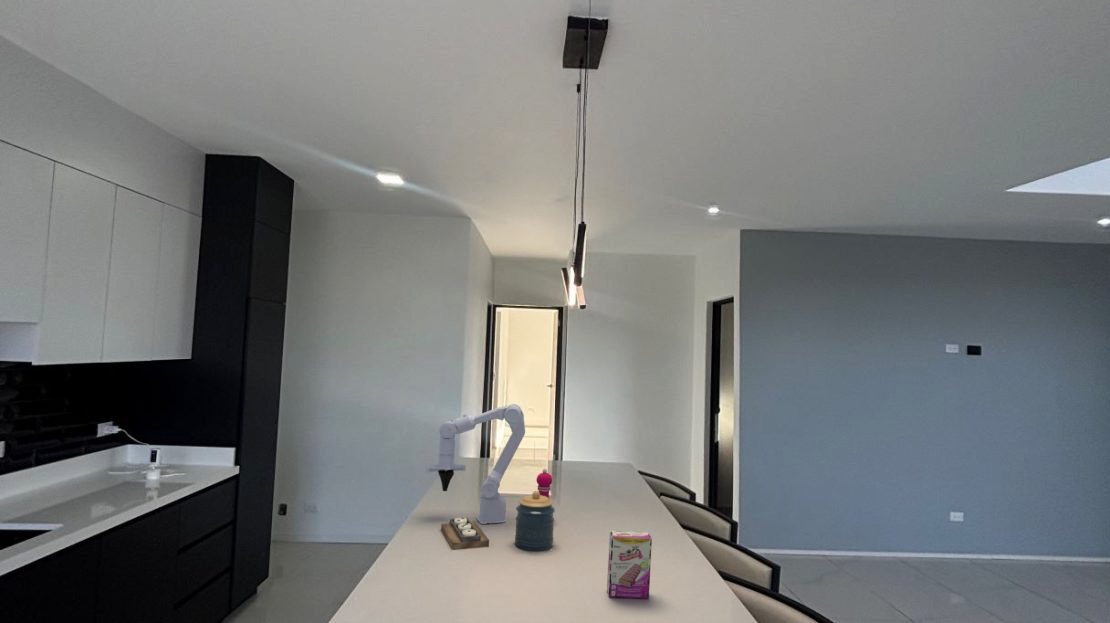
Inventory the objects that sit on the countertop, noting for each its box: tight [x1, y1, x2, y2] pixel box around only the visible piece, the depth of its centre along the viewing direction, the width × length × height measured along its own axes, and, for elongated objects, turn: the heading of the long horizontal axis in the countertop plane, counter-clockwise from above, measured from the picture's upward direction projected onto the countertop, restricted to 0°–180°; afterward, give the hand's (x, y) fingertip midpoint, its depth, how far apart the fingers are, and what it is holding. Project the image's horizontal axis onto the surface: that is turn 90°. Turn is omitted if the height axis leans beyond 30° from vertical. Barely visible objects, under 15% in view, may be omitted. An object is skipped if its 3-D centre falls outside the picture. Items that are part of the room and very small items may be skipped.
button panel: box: [440, 517, 490, 550], centre depth 195 cm, size 12×20×4 cm, turn 22°
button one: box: [462, 529, 476, 537], centre depth 189 cm, size 4×4×2 cm
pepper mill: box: [536, 468, 553, 507], centre depth 216 cm, size 7×7×20 cm
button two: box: [453, 517, 467, 524], centre depth 201 cm, size 4×4×2 cm
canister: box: [514, 490, 556, 552], centre depth 192 cm, size 13×13×18 cm
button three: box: [458, 523, 471, 530], centre depth 195 cm, size 4×4×2 cm
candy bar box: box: [606, 530, 653, 600], centre depth 156 cm, size 11×5×16 cm, turn 92°
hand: (444, 490), depth 215 cm, fingers closed
